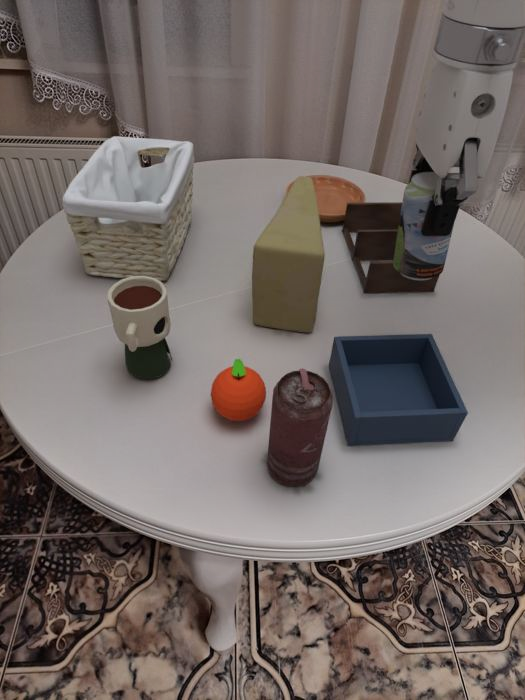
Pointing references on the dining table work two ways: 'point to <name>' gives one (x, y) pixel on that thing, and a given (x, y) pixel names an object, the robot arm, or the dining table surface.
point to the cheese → (289, 263)
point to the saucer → (334, 196)
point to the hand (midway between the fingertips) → (426, 216)
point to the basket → (132, 207)
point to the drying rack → (379, 247)
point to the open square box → (394, 390)
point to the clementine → (238, 392)
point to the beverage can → (419, 231)
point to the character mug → (142, 324)
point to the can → (298, 426)
